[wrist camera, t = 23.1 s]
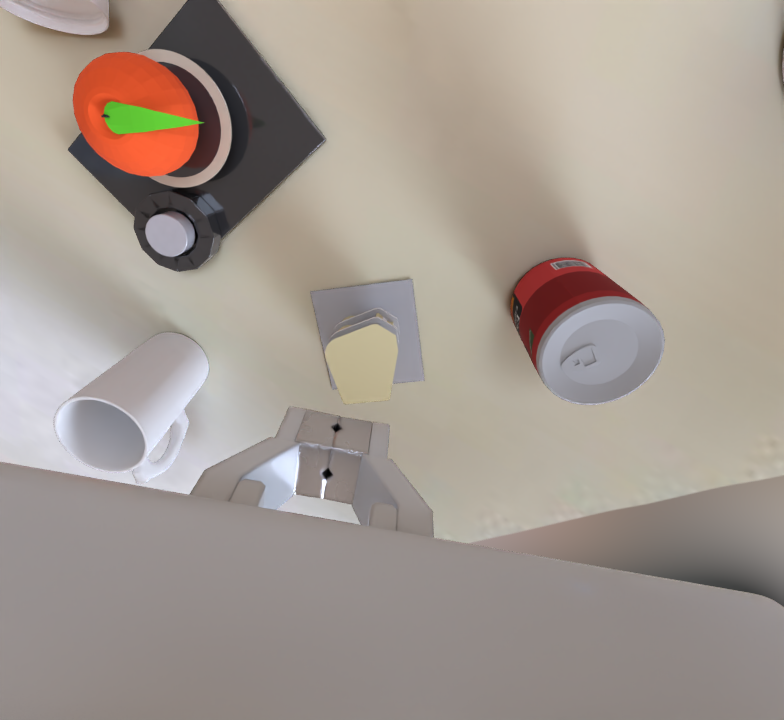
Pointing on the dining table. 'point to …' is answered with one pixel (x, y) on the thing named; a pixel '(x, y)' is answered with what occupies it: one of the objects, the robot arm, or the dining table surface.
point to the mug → (134, 408)
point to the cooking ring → (209, 110)
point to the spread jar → (63, 14)
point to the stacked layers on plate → (369, 338)
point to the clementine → (135, 114)
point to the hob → (248, 146)
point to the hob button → (170, 233)
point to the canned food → (585, 332)
